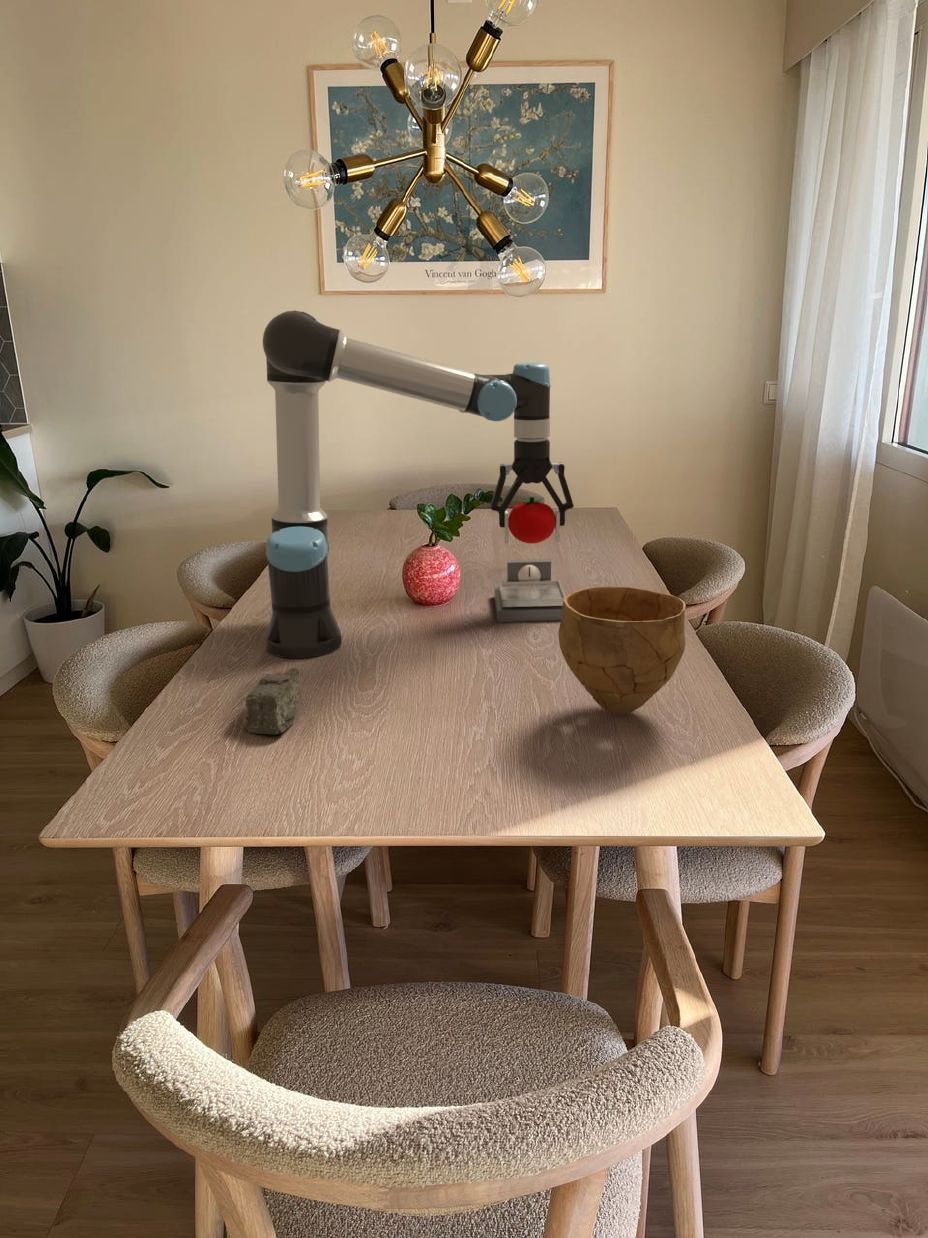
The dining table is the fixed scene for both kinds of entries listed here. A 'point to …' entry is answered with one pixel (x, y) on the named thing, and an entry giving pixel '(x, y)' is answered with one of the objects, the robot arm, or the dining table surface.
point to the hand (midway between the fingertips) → (531, 541)
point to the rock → (273, 703)
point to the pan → (531, 593)
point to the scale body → (527, 572)
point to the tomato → (531, 521)
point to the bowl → (622, 643)
